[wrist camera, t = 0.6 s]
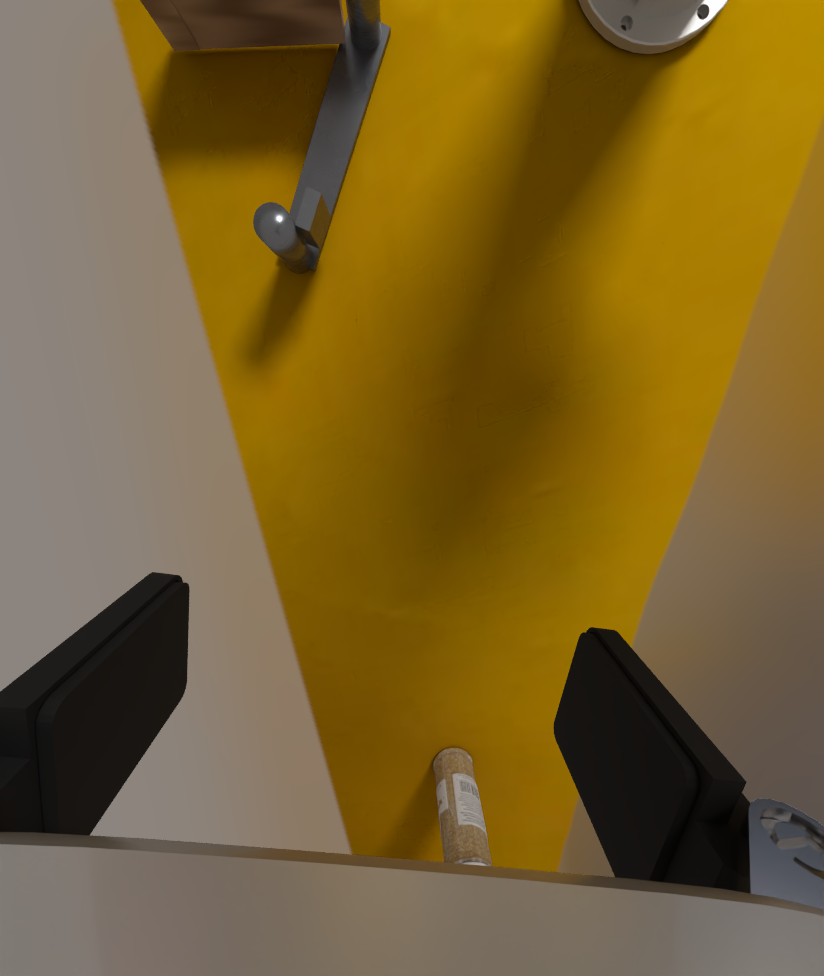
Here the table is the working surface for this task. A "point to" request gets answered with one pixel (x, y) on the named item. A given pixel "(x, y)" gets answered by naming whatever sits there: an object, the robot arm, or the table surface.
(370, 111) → the table surface
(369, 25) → the gate posts
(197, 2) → the gate
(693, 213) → the table surface
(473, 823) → the sprinkles bottle
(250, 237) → the table surface
